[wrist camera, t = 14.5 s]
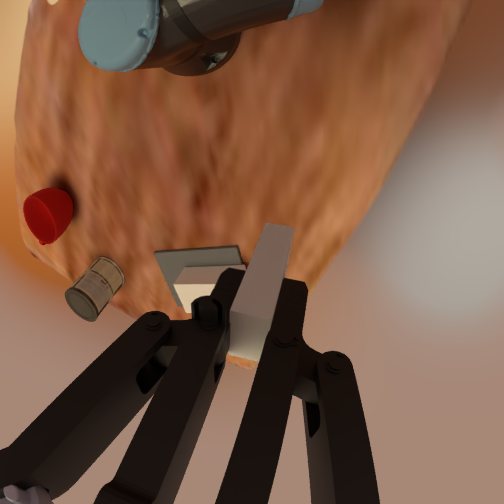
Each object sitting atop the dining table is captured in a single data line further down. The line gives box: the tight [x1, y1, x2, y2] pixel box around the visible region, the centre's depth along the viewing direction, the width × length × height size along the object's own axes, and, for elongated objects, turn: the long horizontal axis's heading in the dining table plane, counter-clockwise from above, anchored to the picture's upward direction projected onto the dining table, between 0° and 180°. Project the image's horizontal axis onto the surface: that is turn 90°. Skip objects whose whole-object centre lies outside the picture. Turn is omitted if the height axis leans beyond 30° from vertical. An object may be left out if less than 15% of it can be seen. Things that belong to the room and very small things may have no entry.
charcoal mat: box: [154, 245, 243, 306], centre depth 66 cm, size 20×16×1 cm
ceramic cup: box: [23, 188, 73, 245], centre depth 62 cm, size 13×17×10 cm
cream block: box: [173, 265, 246, 313], centre depth 62 cm, size 6×8×14 cm
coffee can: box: [65, 257, 124, 322], centre depth 69 cm, size 10×10×14 cm
